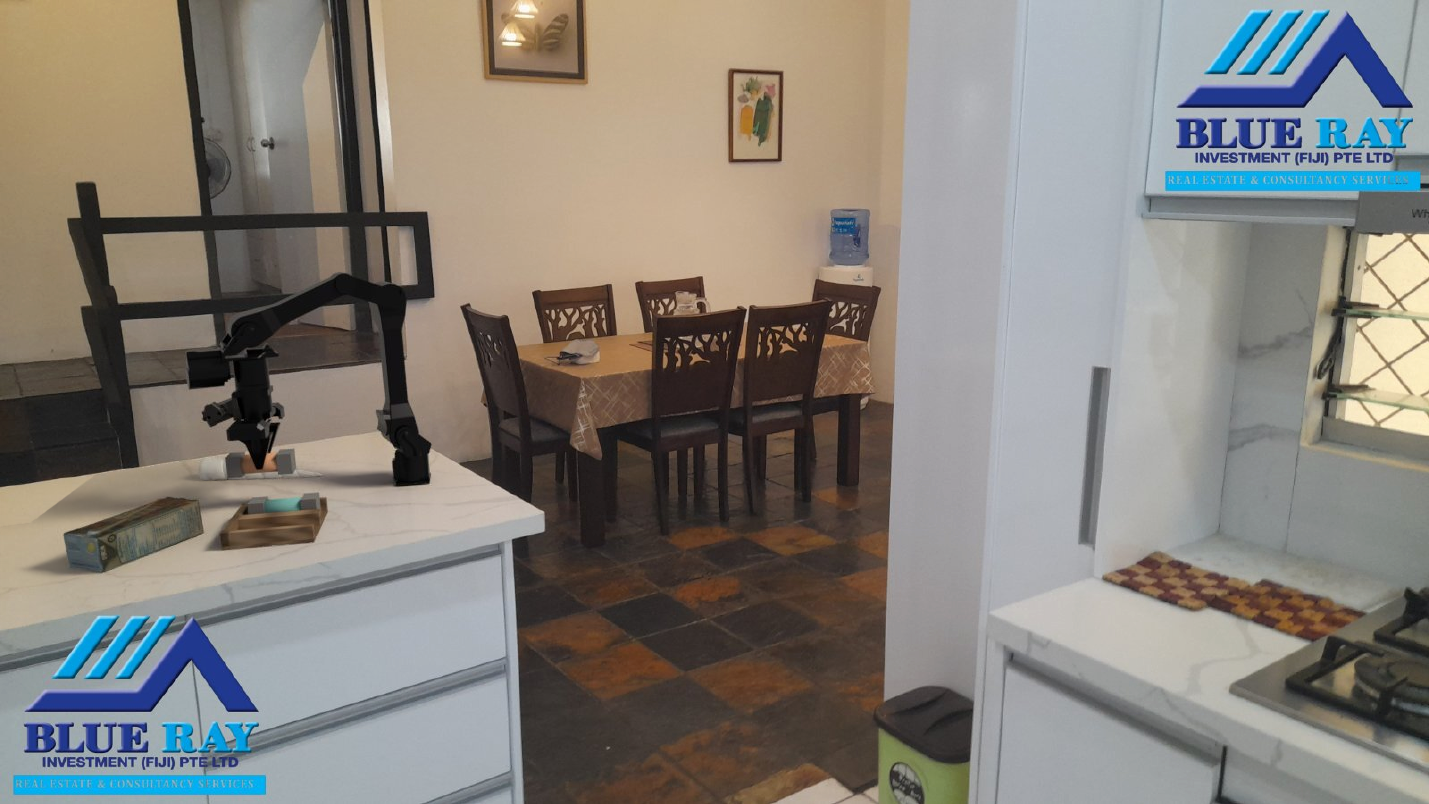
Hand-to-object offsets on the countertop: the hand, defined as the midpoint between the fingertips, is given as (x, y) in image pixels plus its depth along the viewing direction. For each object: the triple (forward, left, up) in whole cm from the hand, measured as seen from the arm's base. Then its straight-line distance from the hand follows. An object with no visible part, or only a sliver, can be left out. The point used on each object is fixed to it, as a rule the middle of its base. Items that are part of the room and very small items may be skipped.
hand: (261, 466), depth 176 cm
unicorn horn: (+5, -20, -8) cm, 23 cm away
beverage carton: (+15, +19, -8) cm, 26 cm away
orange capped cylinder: (0, 0, -1) cm, 1 cm away
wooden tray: (-5, +15, -8) cm, 17 cm away
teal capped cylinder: (-5, +11, -7) cm, 14 cm away
